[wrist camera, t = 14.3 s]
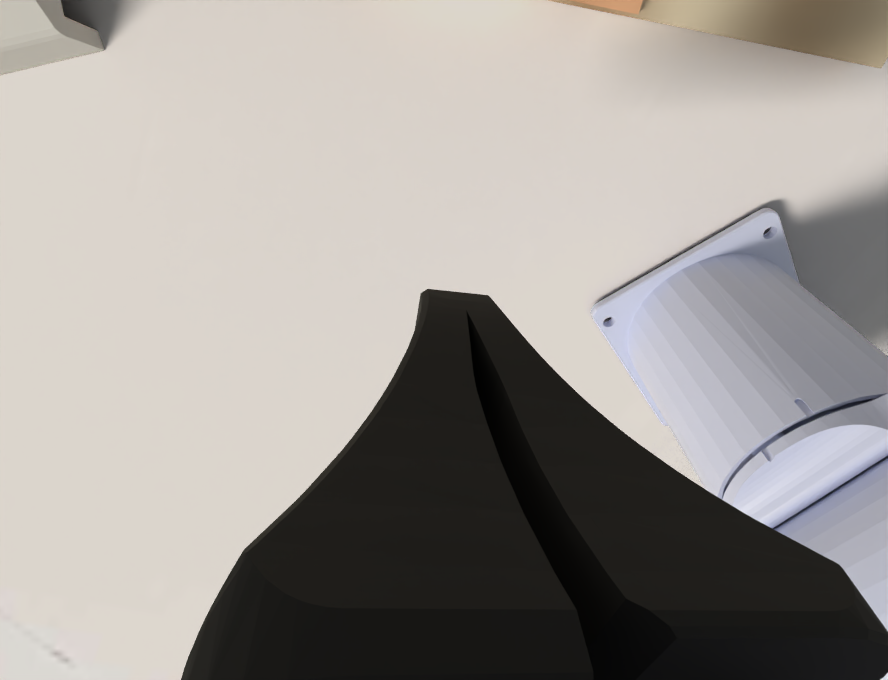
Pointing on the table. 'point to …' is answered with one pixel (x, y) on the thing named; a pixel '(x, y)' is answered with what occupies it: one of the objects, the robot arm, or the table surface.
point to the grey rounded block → (41, 35)
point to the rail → (773, 23)
